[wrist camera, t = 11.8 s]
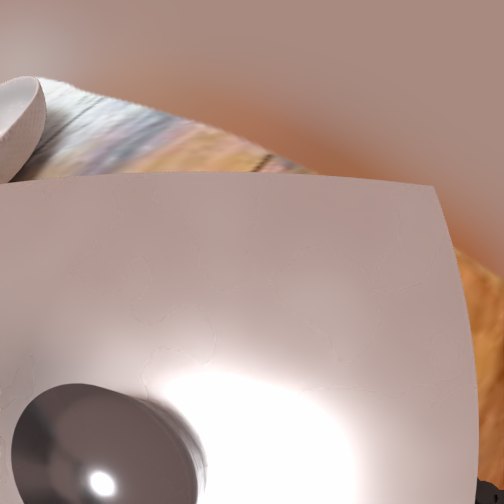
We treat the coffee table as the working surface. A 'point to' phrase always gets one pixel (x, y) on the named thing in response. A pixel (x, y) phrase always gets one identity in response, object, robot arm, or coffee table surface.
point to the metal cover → (232, 342)
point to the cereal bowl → (19, 123)
